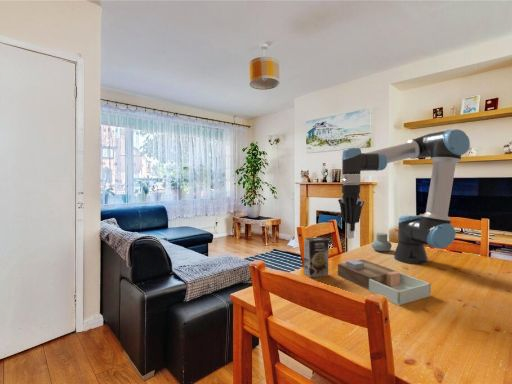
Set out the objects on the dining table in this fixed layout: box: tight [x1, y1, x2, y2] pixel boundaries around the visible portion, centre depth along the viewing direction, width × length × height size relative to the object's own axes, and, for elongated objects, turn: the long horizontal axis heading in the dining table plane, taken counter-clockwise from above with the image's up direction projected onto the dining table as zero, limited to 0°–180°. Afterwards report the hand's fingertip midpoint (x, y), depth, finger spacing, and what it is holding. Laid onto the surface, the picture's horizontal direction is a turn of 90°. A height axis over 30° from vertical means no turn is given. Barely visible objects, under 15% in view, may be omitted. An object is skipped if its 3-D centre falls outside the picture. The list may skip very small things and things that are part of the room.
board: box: [337, 259, 398, 291], centre depth 115 cm, size 15×18×5 cm
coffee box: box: [303, 236, 330, 278], centre depth 121 cm, size 9×6×16 cm
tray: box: [368, 272, 432, 306], centre depth 101 cm, size 17×13×5 cm
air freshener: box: [371, 232, 392, 253], centre depth 159 cm, size 11×8×10 cm
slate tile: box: [345, 259, 364, 269], centre depth 116 cm, size 5×5×2 cm
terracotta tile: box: [386, 270, 401, 287], centre depth 107 cm, size 5×5×2 cm
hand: (350, 237), depth 120 cm, fingers closed
